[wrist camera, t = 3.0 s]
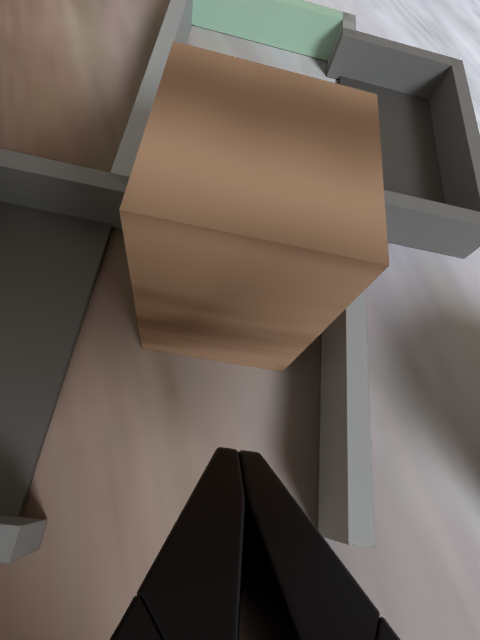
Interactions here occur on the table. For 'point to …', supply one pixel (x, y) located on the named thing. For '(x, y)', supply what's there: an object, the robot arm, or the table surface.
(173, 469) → the table surface
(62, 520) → the table surface
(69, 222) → the bent walled tray
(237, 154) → the walnut block
